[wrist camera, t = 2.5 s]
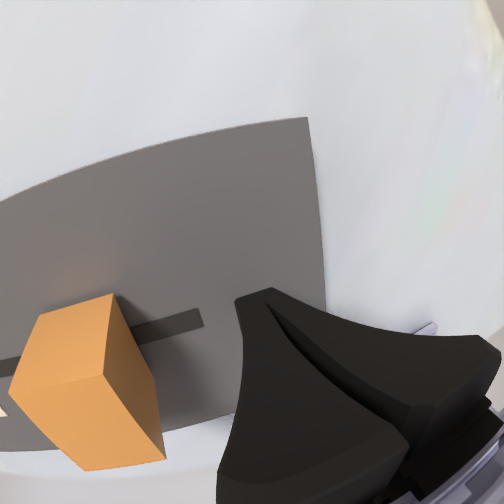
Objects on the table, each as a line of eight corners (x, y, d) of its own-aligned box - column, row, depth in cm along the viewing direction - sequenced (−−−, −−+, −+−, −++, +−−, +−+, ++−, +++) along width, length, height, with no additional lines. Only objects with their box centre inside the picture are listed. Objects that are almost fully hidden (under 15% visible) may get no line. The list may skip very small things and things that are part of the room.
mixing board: (313, 358, 16) (328, 377, 14) (-29, 434, 10) (-34, 451, 9) (288, 118, 11) (308, 116, 9) (-127, 282, 5) (-140, 294, 4)
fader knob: (154, 378, 11) (166, 459, 7) (89, 393, 10) (84, 471, 7) (113, 293, 9) (102, 374, 6) (39, 314, 8) (7, 392, 5)
